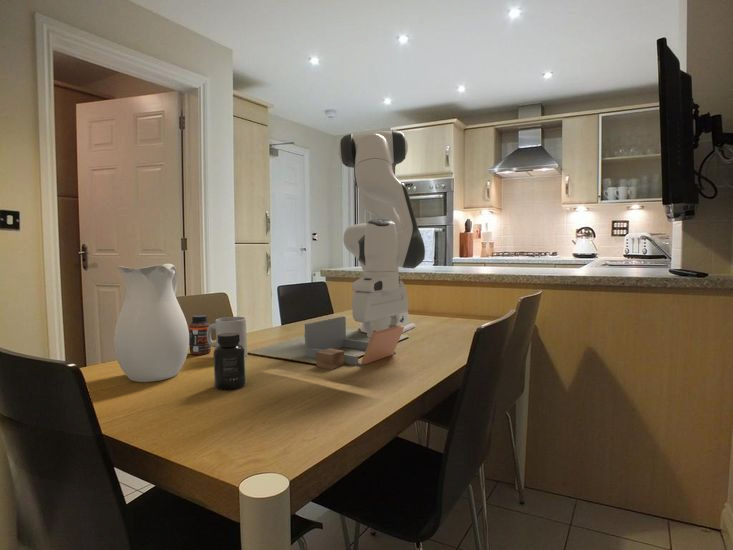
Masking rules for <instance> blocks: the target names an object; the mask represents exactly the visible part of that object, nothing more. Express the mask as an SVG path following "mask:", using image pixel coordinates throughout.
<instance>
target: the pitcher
mask: <svg viewBox="0 0 733 550" xmlns="http://www.w3.org/2000/svg"><path fill="white" fill-rule="evenodd" d="M117 270H118V271H119V272H120V273H121V274H122V276H123V277H124V280H125V282H126V292H125V296H124V301H123V303H122V306H121V309H120V312H119V314H118V317H117V320H116V324H115V328H114V334H113V335H114V336H113V346H114V347H113V348H114V349H113V350H114V353H115V357H116V360H117V363H118V365H119V367H120V369H121V370H122V371H123V373H124V374H125V376H126V377H127V378H128V379H129V380H130V381H131V382H135V383H137V382H138V383H152V382H158V381H159V382H160V381H164V380H168V379H170V378H171V379H172V378H173V377H175V376H177V375H178V373H180V372H181V369H182V367H183V366H184V363H185V361H186V359H187V356H188V352H189V349H190V340H189V326H188V323H187V320H186V317H185V314H184V312H183V309H182V308H181V305H180V303H179V300H178V299H177V296H176V293H177V290H178V289H177V288H178V278H179V277H178V270H177V268H176V266H175V265H174V264H172V263H164V264H155V265H154V264H153V265H149V266H145V267H136V268H135V267H127V266H122V265H118V266H117Z"/></svg>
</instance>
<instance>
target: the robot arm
mask: <svg viewBox="0 0 733 550" xmlns="http://www.w3.org/2000/svg"><path fill="white" fill-rule="evenodd" d="M408 148H409V146H408V140H407V139H406V137H405V134H404V133H403V132H402V131H400V130H396V129H394V130H392V129H391V131H390V130H372V131H367V132H366V131H365V132H359V133H354V134H353V133H350V134H346V135H343V136H342V138H340V142H339V145H338V156H339V159H340V160H341V163H342V164H343V165H344V166H345V167H347V168H354V169H355V170H354V172H355V173H354V174H355V181H356V185H357V187H358V189H359V194H360V196H359V197H360V206H361V208H362V209H363V210H364V211H365V212H366V213H368V214H370V215H372V216H374V217H375V218H376V219H371V220H369V221H367V222H366V223H362V222H361V223H357V224H352V225H349V226H348V227H346V229H345V231H344V233H343V244H344V247H345V249H346V250H347V251H348V252H349V253H350V254H352V255H353V256H354V257H355V258H356V260H357V261H358V262H359V264H360V267H361V269H362V273H363V274H362V276H361V277H360V278H358V279H357V280H354V281H353V282H352V283H351V289H352V291H353V292H354V293H353V294H352V301H351V311H352V313H351V314H352V318H353V320H354V322H358V323H360V325H359V326H358V328H359V329H360V332H362V333H364V334H365V333H366V337H367V338H368V339H370V338H371V336H372V333H373V332H376V331H380V330H384V329H388V328H391V327H395V326H399V325H403V326H404V329H403V331H402V334H404V333H405V332H407V331H409V330H411V329H413V328H415V327H416V323H413V322H410V317H409V311H408V310H409V299H408V292H407V291H408V290H407V289H406V287H405V286H406V285H405V283H404V281H403V280H402V279H399V276H400V275H399V274H400V273H399V268H403V269H412V270H413V269H414V270H415V268H417V267H418V266H419V265H420V264H422V263H423V262H424V260H425V255H426V247H425V246H426V245H425V243H424V240H423V237H422V235H421V232H420V230H419V225H418V223H417V219H416V218H417V217H416V215H415V212H414V207H413V204H412V201H411V198H410V194H409V191H408V190H407V186H406V185H405V183H403V182H402V181H400V180H399V179H398V178H397V176H396V174H395V173H394V169H393V167H394V168H395V167H396V166H397V165H399V164H401V163H403V162H404V160H405V159H406V157H407V154H408Z"/></svg>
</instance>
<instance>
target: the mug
mask: <svg viewBox="0 0 733 550" xmlns="http://www.w3.org/2000/svg"><path fill="white" fill-rule="evenodd" d="M214 322H215V323H211V324H210V325H209V326H208V329H207V341H208V344H209V345H210V346H211V347H212V348H216V347H217V346H219V344H218V343H217V341H218V335H219V334H222V333H239V334H240V342H239V344H240V345H242V346H243V347H244V349H245V358H247V356H248V344H247V343H248V342H247V341H248V340H247V318H246V317H243V316H228V317H227V316H225V317H218V318H216V319H215V321H214ZM212 330H215V341H213V339H212Z"/></svg>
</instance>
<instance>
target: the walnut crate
mask: <svg viewBox="0 0 733 550" xmlns="http://www.w3.org/2000/svg"><path fill="white" fill-rule="evenodd" d="M344 354H345V350H342V349H331V348H329V349H325V350H322V351H318V352H316V358H315V359H316V367H318V368H320V369H321V368H323V369H327V370H335V369H338V368H340V367H344V366H345V363H344Z"/></svg>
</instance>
